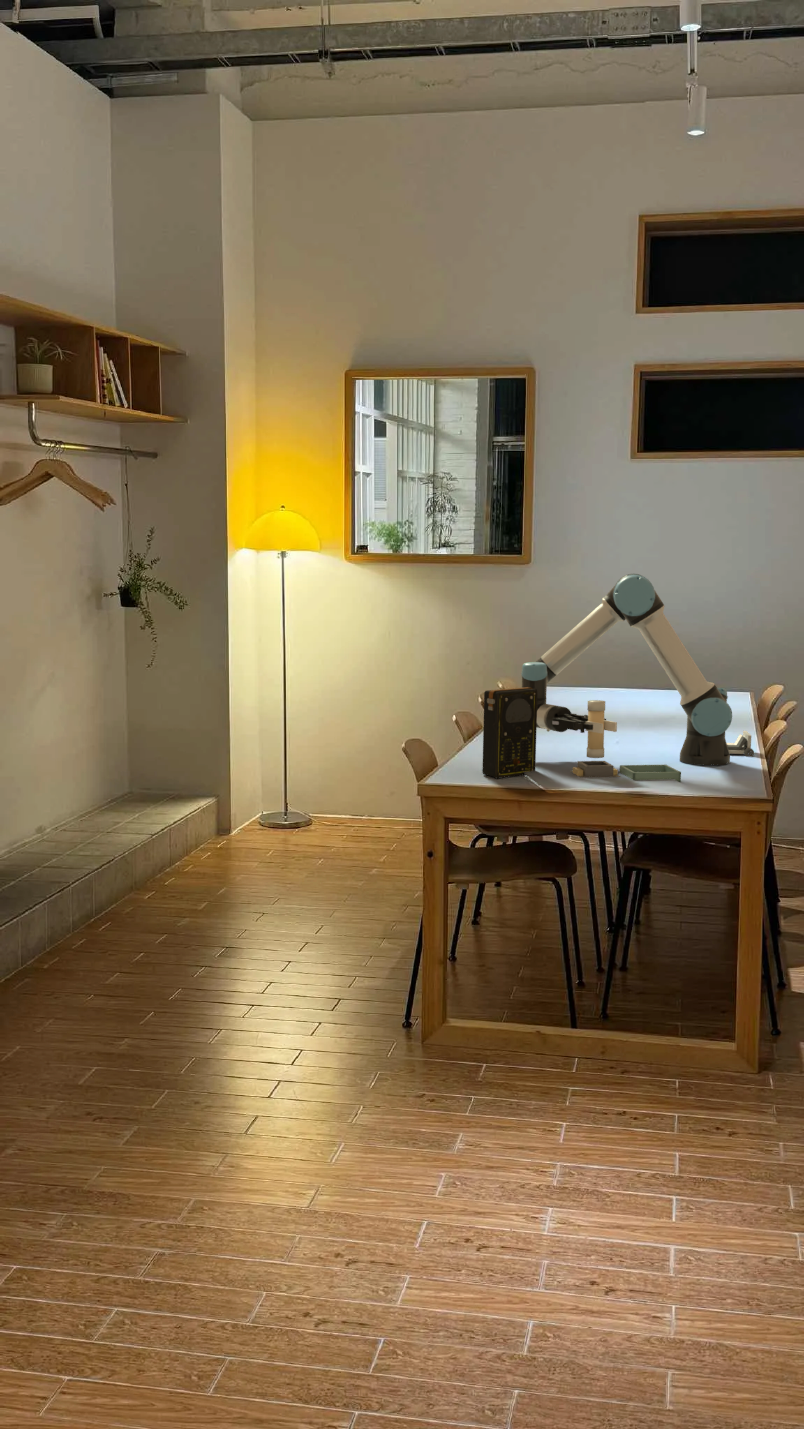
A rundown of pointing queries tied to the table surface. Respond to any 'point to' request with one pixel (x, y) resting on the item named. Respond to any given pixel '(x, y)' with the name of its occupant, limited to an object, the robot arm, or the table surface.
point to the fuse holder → (595, 769)
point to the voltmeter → (509, 732)
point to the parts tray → (650, 772)
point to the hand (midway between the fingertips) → (608, 727)
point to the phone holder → (741, 745)
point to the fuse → (595, 739)
